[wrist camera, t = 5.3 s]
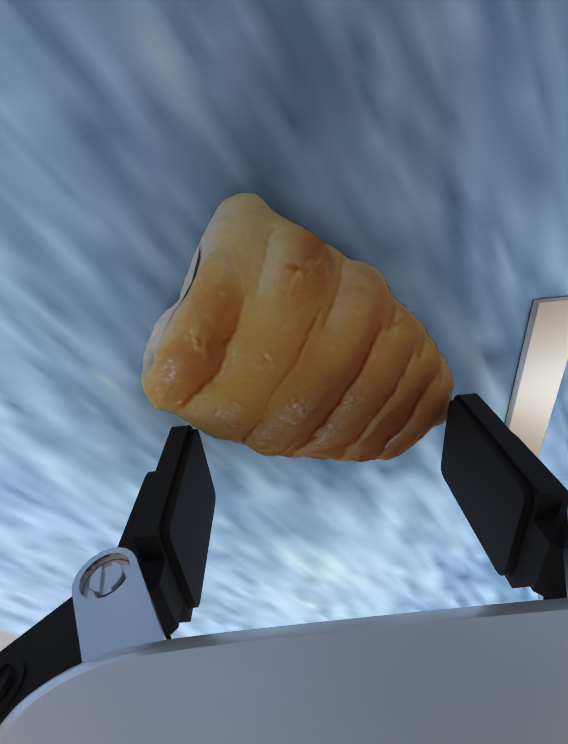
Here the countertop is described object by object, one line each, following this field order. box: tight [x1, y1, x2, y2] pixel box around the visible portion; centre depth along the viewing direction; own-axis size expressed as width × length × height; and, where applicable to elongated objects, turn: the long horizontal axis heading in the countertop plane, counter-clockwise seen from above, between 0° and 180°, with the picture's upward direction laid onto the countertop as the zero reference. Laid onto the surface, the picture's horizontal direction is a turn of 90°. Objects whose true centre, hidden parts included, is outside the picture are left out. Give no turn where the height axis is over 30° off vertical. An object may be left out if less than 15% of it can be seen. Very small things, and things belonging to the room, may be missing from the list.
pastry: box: [141, 193, 453, 462], centre depth 11 cm, size 9×7×4 cm
